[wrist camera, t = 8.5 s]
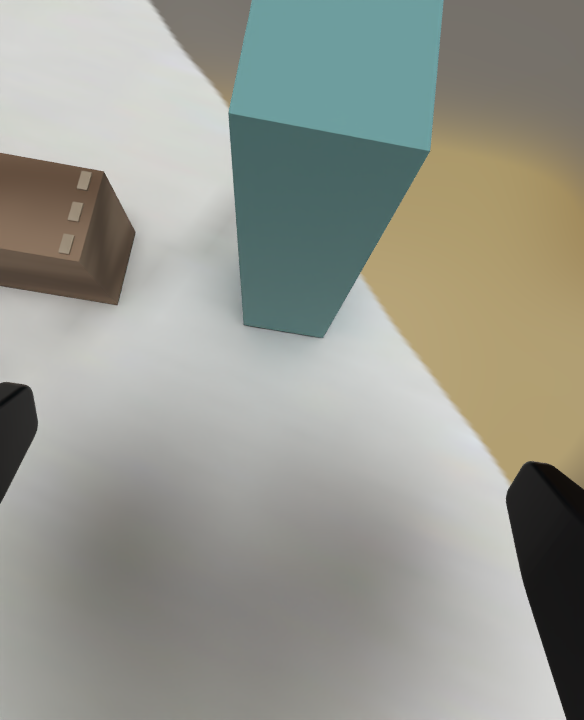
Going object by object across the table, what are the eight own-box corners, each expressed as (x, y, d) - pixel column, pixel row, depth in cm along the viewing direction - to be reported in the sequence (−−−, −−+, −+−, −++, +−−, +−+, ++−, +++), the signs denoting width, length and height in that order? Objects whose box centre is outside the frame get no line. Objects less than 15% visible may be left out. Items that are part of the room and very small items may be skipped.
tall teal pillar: (322, 337, 22) (430, 151, 9) (243, 324, 22) (228, 113, 9) (332, 264, 23) (443, -8, 10) (256, 251, 23) (261, -45, 10)
